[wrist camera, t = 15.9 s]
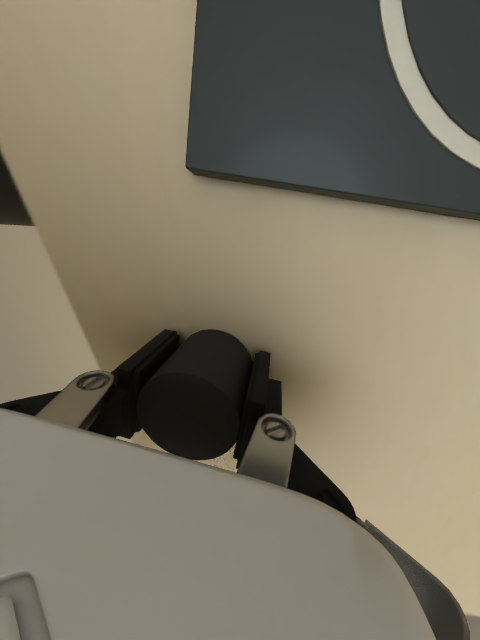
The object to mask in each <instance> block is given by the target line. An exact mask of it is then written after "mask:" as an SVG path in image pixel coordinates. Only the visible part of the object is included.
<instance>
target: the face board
mask: <svg viewBox="0 0 480 640" xmlns="http://www.w3.org/2000/svg"><path fill="white" fill-rule="evenodd" d="M186 168H187V169H188V170H189V171H191V172H192V173H193V174H195V175H200V176H206V177H212V178H219V179H225V180H231V181H237V182H244V183H250V184H256V185H262V186H268V187H275V188H281V189H287V190H293V191H300V192H306V193H312V194H318V195H325V196H331V197H337V198H343V199H350V200H356V201H362V202H368V203H375V204H381V205H387V206H393V207H400V208H406V209H412V210H418V211H425V212H431V213H437V214H443V215H450V216H456V217H462V218H468V219H475V220H480V0H197V12H196V26H195V40H194V54H193V68H192V82H191V96H190V110H189V124H188V138H187V152H186Z"/></svg>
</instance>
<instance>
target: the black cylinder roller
mask: <svg viewBox="0 0 480 640" xmlns="http://www.w3.org/2000/svg"><path fill="white" fill-rule="evenodd" d="M251 371H252V360H251V357H250V355H249V352H248V351H247V349H246V347H245V346H244V345H243V344H242V343H241V342H240V341H239V340H238V339H237V338H235V337H234V336H232V335H230V334H228V333H226V332H223V331H219V330H203V331H199V332H196V333H194V334H192V335H191V336H190V337H188V338H187V339H186V340H185V341H184V342H183V343H182V345H181V346H180V347H179V348H178V349H177V350H176V351H175V352H174V353H173V354H172V355H171V356H170V358H169V359H168V360H167V361H166V362H165V363H164V364H163V365H162V366H161V367H160V368H159V369H158V371H157V372H156V373H155V374H154V375H153V376H152V377H151V378H150V379H149V380H148V381H147V382H146V384H145V385H144V386H143V387H142V389H141V390H140V392H139V395H138V398H137V405H136V408H137V415H138V419H139V422H140V424H141V426H142V428H143V429H144V431H145V432H146V434H147V435H148V436H149V437H150V439H151V440H152V441H153V442H155V443H156V444H157V445H158V446H159V447H161V448H162V449H164V450H166V451H167V452H169V453H171V454H173V455H176V456H180V457H183V458H187V459H191V460H208V459H213V458H216V457H219V456H221V455H223V454H225V453H226V452H227V451H229V450H230V449H231V448H232V447H233V445H234V444H235V443H236V441H237V439H238V435H239V431H240V423H241V419H242V414H243V409H244V404H245V400H246V395H247V390H248V386H249V381H250V376H251Z"/></svg>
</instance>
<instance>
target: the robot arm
mask: <svg viewBox="0 0 480 640" xmlns="http://www.w3.org/2000/svg"><path fill="white" fill-rule="evenodd" d="M179 339H180V336H179V335H177V332H176V331H171V330H167V329H165V330H164V331H162V332H161V333H160V334H159V335H157V336H156V337H155V338H154V339H152V340H151V341H150V342H148V343H147V344H146V345H145V346H143V347H142V348H141V349H140V350H138V351H137V352H136V353H135V354H133V355H132V356H131V357H130V358H128V359H127V360H126V361H125V362H123V363H122V364H121V365H119V366H118V367H117V368H116V369H115V370H114V371H113V372H111V373H110V372H107V371H100V370H97V371H90V372H86V373H83V374H82V375H79V376H78V377H76V378H75V379H74V380H73V381H72V382H71V383H69V384H68V385H67V386H66V387H65V388H64V389H63V390H62V391H57V392H53V393H47V394H43V395H38V396H34V397H28V398H24V399H19V400H15V401H10V402H6V403H2V404H0V640H470V631H469V627H468V623H467V619H466V617H465V615H464V613H463V611H462V609H461V607H460V605H459V603H458V602H457V600H456V599H455V598H454V596H453V595H452V593H451V592H450V591H449V589H448V588H447V587H446V586H445V585H444V584H443V583H442V582H441V581H439V580H438V579H437V578H436V577H435V576H434V575H433V574H431V573H430V572H429V571H428V570H427V569H425V568H424V567H423V566H422V565H421V564H419V563H418V562H417V561H416V560H415V559H413V558H412V557H411V556H410V555H409V554H407V553H406V552H405V551H404V550H403V549H401V548H400V547H399V546H398V545H397V544H395V543H394V542H393V541H392V540H391V539H389V538H388V537H387V536H386V535H385V534H383V533H382V532H381V531H380V530H379V529H377V528H376V527H375V526H374V525H372V524H371V523H370V522H369V521H368V520H365V522H363V521H362V520H360V519H359V518H358V517H357V516H356V514H355V511H354V508H353V506H352V504H351V503H350V501H349V500H348V498H347V497H346V496H345V495H344V493H343V492H342V491H341V490H340V489H339V488H338V487H337V486H336V485H335V484H334V483H333V482H332V481H331V480H330V479H329V478H328V477H327V476H326V475H325V474H324V473H323V472H322V471H321V470H320V469H319V468H318V467H317V466H316V465H315V464H314V463H313V462H312V461H311V459H310V458H309V457H308V456H307V455H306V454H305V453H304V452H303V451H302V450H301V449H300V448H299V447H298V446H297V445H296V444H295V438H296V431H295V428H294V426H293V425H292V423H291V422H290V421H289V420H287V419H286V418H285V417H283V416H282V390H281V381H278V380H273V379H269V367H270V354H271V353H268V352H264V351H260V353H255V358H254V362H253V367H252V371H251V376H250V381H249V386H248V390H247V395H246V400H245V404H244V409H243V414H242V419H241V423H240V431H239V435H238V439H237V441H236V446H235V450H234V455H233V458H234V459H237V460H238V461H237V466H236V469H238V471H237V473H235V472H232V471H228V470H225V469H221V468H218V467H214V466H211V465H207V464H204V463H201V462H197V461H194V460H190V459H187V458H183V457H180V456H176V455H173V454H169V453H165V452H162V451H158V450H155V449H151V448H148V447H144V446H141V445H137V444H133V443H130V442H126V441H123V440H119V439H116V437H117V436H121V437H125V438H128V439H131V437H132V436H133V435H134V433H135V432H139V431H140V430H141V429H142V426H141V424H140V422H139V419H138V415H137V408H136V405H137V398H138V395H139V392H140V390H141V389H142V387H143V386H144V385H145V384H146V382H147V381H148V380H149V379H150V378H151V377H152V376H153V375H154V374H155V373H156V372H157V371H158V369H159V368H160V367H161V366H162V365H163V364H164V363H165V362H166V361H167V360H168V359H169V358H170V356H171V355H172V354H173V353H174V352H175V351H176V350H177V349H178V348H179Z"/></svg>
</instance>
